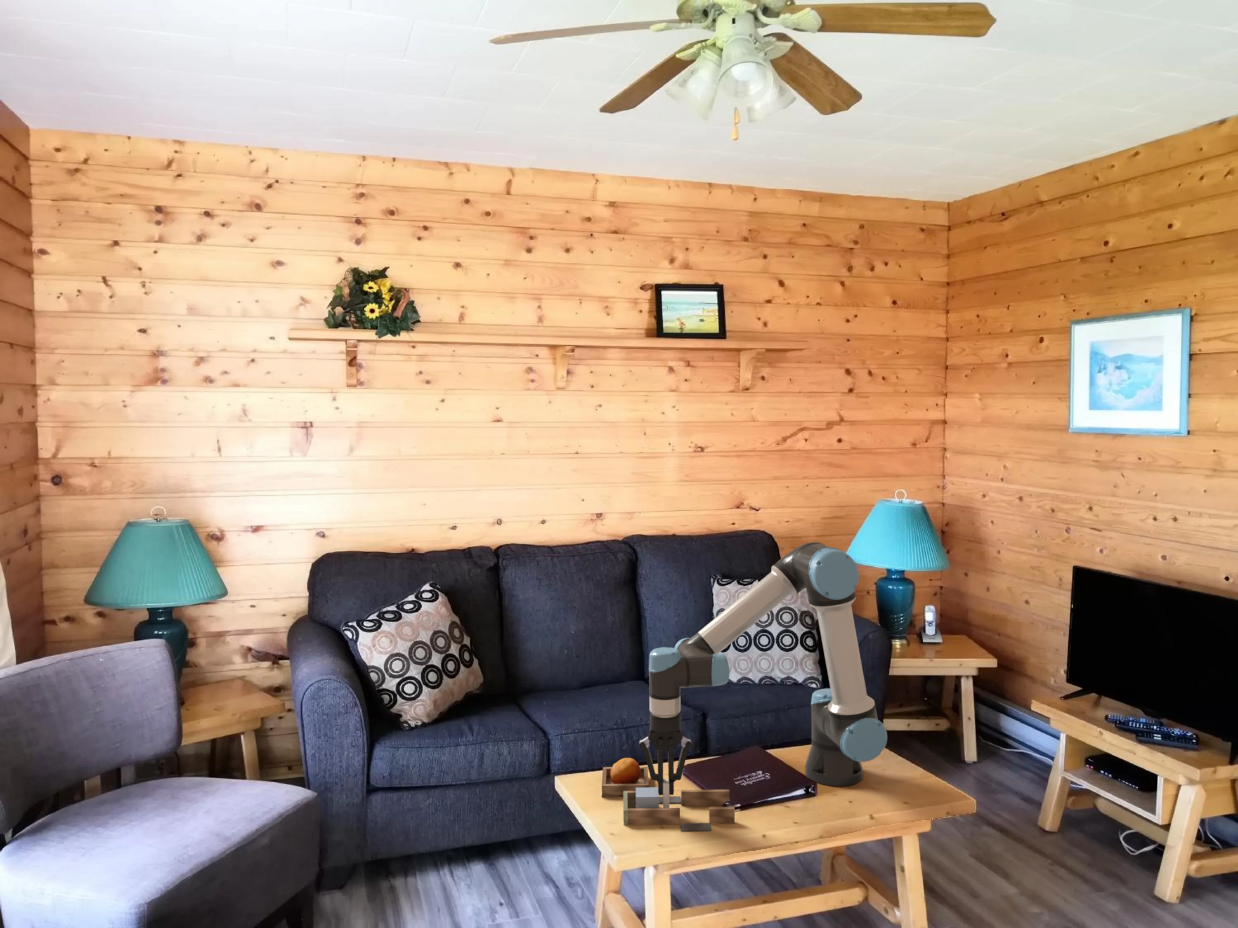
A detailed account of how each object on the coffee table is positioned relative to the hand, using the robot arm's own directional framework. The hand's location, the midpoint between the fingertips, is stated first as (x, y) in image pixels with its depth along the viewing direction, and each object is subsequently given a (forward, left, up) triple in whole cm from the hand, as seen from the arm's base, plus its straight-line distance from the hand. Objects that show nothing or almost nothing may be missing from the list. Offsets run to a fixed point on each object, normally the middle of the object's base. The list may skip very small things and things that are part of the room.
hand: (666, 806), depth 222 cm
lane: (-3, 0, -2) cm, 4 cm away
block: (+5, 0, -2) cm, 5 cm away
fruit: (+10, -16, -1) cm, 19 cm away
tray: (+10, -16, -2) cm, 19 cm away
